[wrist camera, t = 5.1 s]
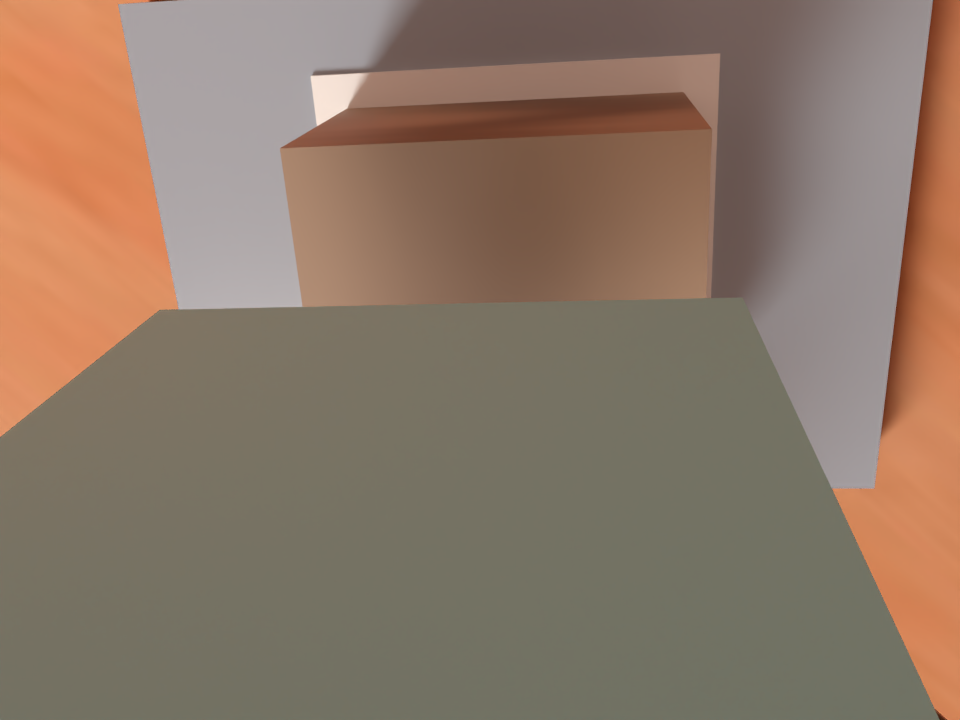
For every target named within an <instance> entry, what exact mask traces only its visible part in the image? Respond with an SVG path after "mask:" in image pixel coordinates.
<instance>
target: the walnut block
mask: <svg viewBox="0 0 960 720" xmlns="http://www.w3.org/2000/svg"><path fill="white" fill-rule="evenodd" d="M711 147H712V128H711V127H710V126H709V124H708V123H707V122H706V121H705V119H704V118H703V117H702V115H701V114H700V113H699V111H698V110H697V109H696V108H695V106H694V105H693V104H692V102H691V101H690V100H689V99H688V97H687V96H686V95H685V93H684V92H674V93H654V94H634V95H613V96H593V97H573V98H553V99H532V100H512V101H492V102H472V103H452V104H431V105H411V106H391V107H371V108H350V109H345V110H344V111H342V112H340V113H339V114H337V115H335V116H334V117H332V118H330V119H329V120H327V121H325V122H323V123H322V124H320V125H318V126H317V127H315V128H313V129H312V130H310V131H308V132H307V133H305V134H303V135H301V136H300V137H298V138H296V139H295V140H293V141H291V142H290V143H288V144H286V145H285V146H283V147H281V148H280V153H281V160H282V167H283V174H284V181H285V188H286V195H287V202H288V209H289V216H290V223H291V230H292V237H293V244H294V251H295V258H296V265H297V272H298V279H299V286H300V293H301V300H302V306H303V307H319V306H365V305H412V304H459V303H506V302H553V301H599V300H646V299H693V298H706V288H707V259H708V231H709V203H710V175H711Z"/></svg>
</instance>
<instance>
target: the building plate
mask: <svg viewBox="0 0 960 720" xmlns="http://www.w3.org/2000/svg"><path fill="white" fill-rule="evenodd" d="M932 4H933V0H171V1H155V2H141V3H129V4H118V7H119V12H120V17H121V22H122V27H123V32H124V37H125V42H126V47H127V52H128V57H129V62H130V67H131V72H132V77H133V82H134V87H135V92H136V97H137V102H138V107H139V112H140V117H141V122H142V127H143V132H144V137H145V142H146V147H147V152H148V157H149V162H150V167H151V172H152V177H153V182H154V187H155V192H156V197H157V203H158V208H159V213H160V218H161V223H162V228H163V233H164V238H165V243H166V248H167V253H168V258H169V263H170V268H171V273H172V278H173V283H174V288H175V293H176V298H177V303H178V308H179V309H225V308H272V307H303V306H302V300H301V293H300V286H299V279H298V272H297V265H296V258H295V251H294V244H293V237H292V230H291V223H290V216H289V209H288V202H287V195H286V188H285V181H284V174H283V167H282V160H281V153H280V148H281V147H283V146H285V145H286V144H288V143H290V142H291V141H293V140H295V139H296V138H298V137H300V136H301V135H303V134H305V133H307V132H308V131H310V130H312V129H313V128H315V127H317V126H318V125H320V124H322V123H323V122H325V121H327V120H329V119H330V118H332V117H334V116H335V115H337V114H339V113H340V112H342V111H344V110H345V109H350V108H371V107H391V106H411V105H431V104H452V103H472V102H492V101H512V100H532V99H553V98H573V97H593V96H613V95H634V94H654V93H674V92H684V93H685V95H686V96H687V97H688V99H689V100H690V101H691V102H692V104H693V105H694V106H695V108H696V109H697V110H698V111H699V113H700V114H701V115H702V117H703V118H704V119H705V121H706V122H707V123H708V124H709V126H710V127H711V128H712V147H711V175H710V203H709V231H708V259H707V288H706V298H740V297H743V299H744V301H745V304H746V306H747V308H748V310H749V312H750V314H751V317H752V319H753V321H754V323H755V325H756V327H757V329H758V332H759V334H760V336H761V338H762V340H763V342H764V344H765V347H766V349H767V351H768V353H769V355H770V357H771V359H772V362H773V364H774V366H775V368H776V370H777V372H778V374H779V377H780V379H781V381H782V383H783V385H784V387H785V389H786V392H787V394H788V396H789V398H790V400H791V402H792V404H793V407H794V409H795V411H796V413H797V415H798V417H799V419H800V422H801V424H802V426H803V428H804V430H805V432H806V434H807V437H808V439H809V441H810V443H811V445H812V447H813V449H814V452H815V454H816V456H817V458H818V460H819V462H820V464H821V467H822V469H823V471H824V473H825V475H826V477H827V479H828V482H829V484H830V486H831V488H874V486H875V478H876V470H877V462H878V453H879V445H880V437H881V428H882V420H883V412H884V403H885V395H886V387H887V378H888V370H889V362H890V353H891V345H892V337H893V328H894V320H895V312H896V303H897V295H898V287H899V279H900V270H901V262H902V254H903V245H904V237H905V229H906V220H907V212H908V204H909V195H910V187H911V179H912V170H913V162H914V154H915V145H916V137H917V129H918V120H919V112H920V104H921V95H922V87H923V79H924V71H925V62H926V54H927V46H928V37H929V29H930V21H931V12H932Z"/></svg>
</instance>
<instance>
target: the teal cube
mask: <svg viewBox="0 0 960 720" xmlns="http://www.w3.org/2000/svg"><path fill="white" fill-rule="evenodd" d="M0 720H939V718H938V715H937V713H936V711H935V709H934V707H933V705H932V703H931V700H930V698H929V696H928V694H927V692H926V690H925V688H924V685H923V683H922V681H921V679H920V677H919V675H918V672H917V670H916V668H915V666H914V664H913V662H912V660H911V657H910V655H909V653H908V651H907V649H906V647H905V645H904V642H903V640H902V638H901V636H900V634H899V632H898V630H897V627H896V625H895V623H894V621H893V619H892V617H891V615H890V612H889V610H888V608H887V606H886V604H885V602H884V600H883V597H882V595H881V593H880V591H879V589H878V587H877V585H876V582H875V580H874V578H873V576H872V574H871V572H870V570H869V567H868V565H867V563H866V561H865V559H864V557H863V555H862V552H861V550H860V548H859V546H858V544H857V542H856V540H855V537H854V535H853V533H852V531H851V529H850V527H849V525H848V522H847V520H846V518H845V516H844V514H843V512H842V510H841V507H840V505H839V503H838V501H837V499H836V497H835V495H834V492H833V490H832V488H831V486H830V484H829V482H828V479H827V477H826V475H825V473H824V471H823V469H822V467H821V464H820V462H819V460H818V458H817V456H816V454H815V452H814V449H813V447H812V445H811V443H810V441H809V439H808V437H807V434H806V432H805V430H804V428H803V426H802V424H801V422H800V419H799V417H798V415H797V413H796V411H795V409H794V407H793V404H792V402H791V400H790V398H789V396H788V394H787V392H786V389H785V387H784V385H783V383H782V381H781V379H780V377H779V374H778V372H777V370H776V368H775V366H774V364H773V362H772V359H771V357H770V355H769V353H768V351H767V349H766V347H765V344H764V342H763V340H762V338H761V336H760V334H759V332H758V329H757V327H756V325H755V323H754V321H753V319H752V317H751V314H750V312H749V310H748V308H747V306H746V304H745V301H744V299H743V297H740V298H693V299H646V300H599V301H553V302H506V303H459V304H412V305H365V306H319V307H272V308H225V309H178V310H159V311H158V312H157V313H155V314H154V315H153V316H152V317H150V318H149V319H148V320H147V321H145V322H144V323H143V324H142V325H140V326H139V327H138V328H137V329H135V330H134V331H133V332H132V333H130V334H129V335H128V336H127V337H125V338H124V339H123V340H122V341H120V342H119V343H118V344H116V345H115V346H114V347H113V348H111V349H110V350H109V351H108V352H106V353H105V354H104V355H103V356H101V357H100V358H99V359H98V360H96V361H95V362H94V363H93V364H91V365H90V366H89V367H88V368H86V369H85V370H84V371H83V372H81V373H80V374H79V375H78V376H76V377H75V378H74V379H73V380H71V381H70V382H69V383H68V384H66V385H65V386H64V387H63V388H61V389H60V390H59V391H58V392H56V393H55V394H54V395H53V396H51V397H50V398H49V399H48V400H46V401H45V402H44V403H42V404H41V405H40V406H39V407H37V408H36V409H35V410H34V411H32V412H31V413H30V414H29V415H27V416H26V417H25V418H24V419H22V420H21V421H20V422H19V423H17V424H16V425H15V426H14V427H12V428H11V429H10V430H9V431H7V432H6V433H5V434H4V435H2V436H1V437H0Z"/></svg>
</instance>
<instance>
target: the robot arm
mask: <svg viewBox="0 0 960 720" xmlns="http://www.w3.org/2000/svg"><path fill="white" fill-rule="evenodd" d="M935 711H936V713H937V715H938V718H939V720H947V719H946V718H945V717H943V716H942V715H941V714H940V713H939V712H938V711H937V710H936V709H935Z"/></svg>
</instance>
